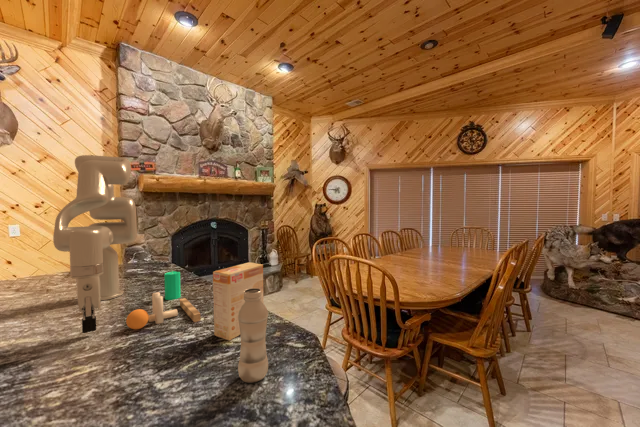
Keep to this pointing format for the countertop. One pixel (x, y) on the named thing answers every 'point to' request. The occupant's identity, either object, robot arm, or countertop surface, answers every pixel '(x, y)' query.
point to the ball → (137, 319)
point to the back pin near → (159, 310)
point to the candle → (172, 285)
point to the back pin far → (154, 300)
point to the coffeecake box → (233, 296)
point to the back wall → (190, 310)
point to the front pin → (164, 315)
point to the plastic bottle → (253, 337)
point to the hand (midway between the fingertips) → (89, 330)
